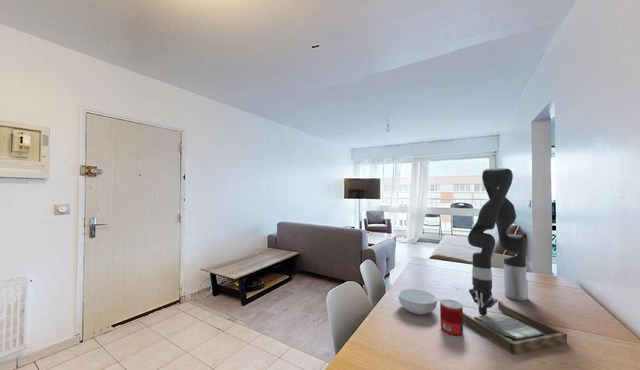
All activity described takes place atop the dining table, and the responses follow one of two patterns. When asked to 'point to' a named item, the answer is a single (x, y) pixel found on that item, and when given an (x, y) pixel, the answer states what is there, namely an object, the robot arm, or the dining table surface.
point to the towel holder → (517, 347)
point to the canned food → (451, 317)
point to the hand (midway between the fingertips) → (482, 314)
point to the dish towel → (509, 327)
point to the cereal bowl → (417, 301)
